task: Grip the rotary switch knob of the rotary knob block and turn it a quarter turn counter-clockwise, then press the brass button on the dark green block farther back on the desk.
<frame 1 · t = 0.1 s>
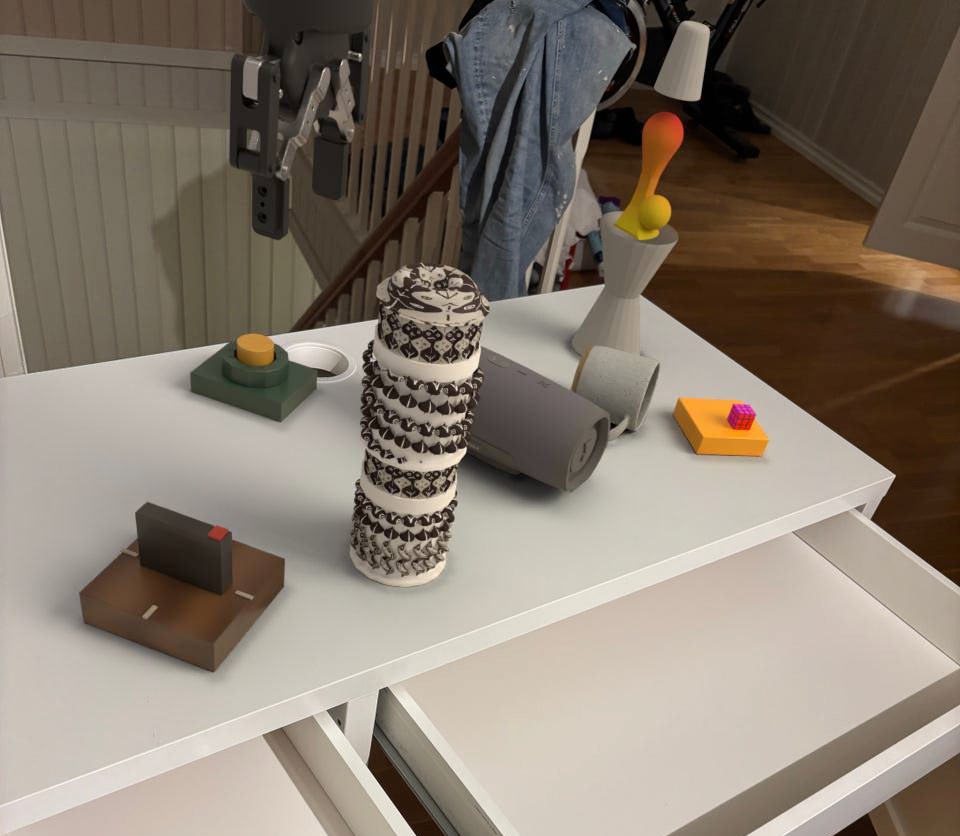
hand: (300, 215, 65), 28 cm above the table, tool pointing down, fingers open, 8 cm apart
rotary switch knob: (184, 547, 72), point 6 cm above the table, hinge at 0.0°
rotary knob block: (188, 603, 76), on the table
patterned cylindrical tower: (397, 556, 85), on the table
bluetooth speaker: (481, 451, 99), on the table
orange square block: (716, 436, 109), on the table
ceramic mug: (604, 423, 107), on the table
button: (255, 350, 97), point 4 cm above the table, slide at 0.1 cm
lava lamp: (605, 350, 120), on the table
button block: (255, 390, 100), on the table
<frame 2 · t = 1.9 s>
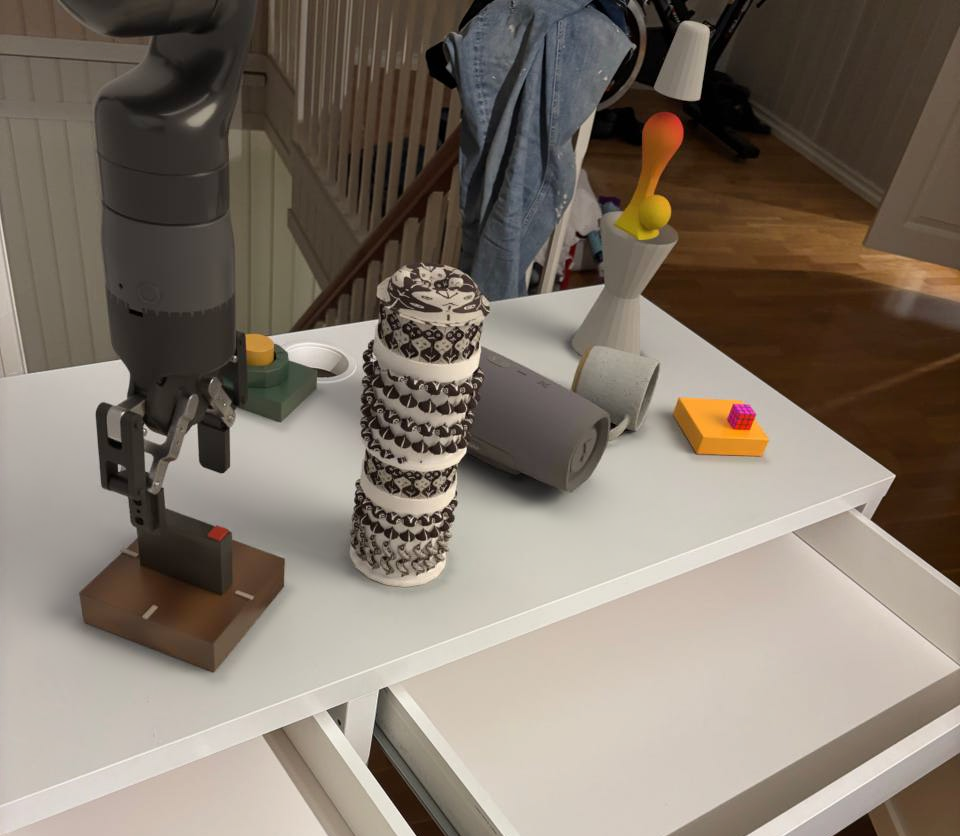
hand: (183, 497, 69), 10 cm above the table, tool pointing down, fingers open, 8 cm apart
nothing on the table moved.
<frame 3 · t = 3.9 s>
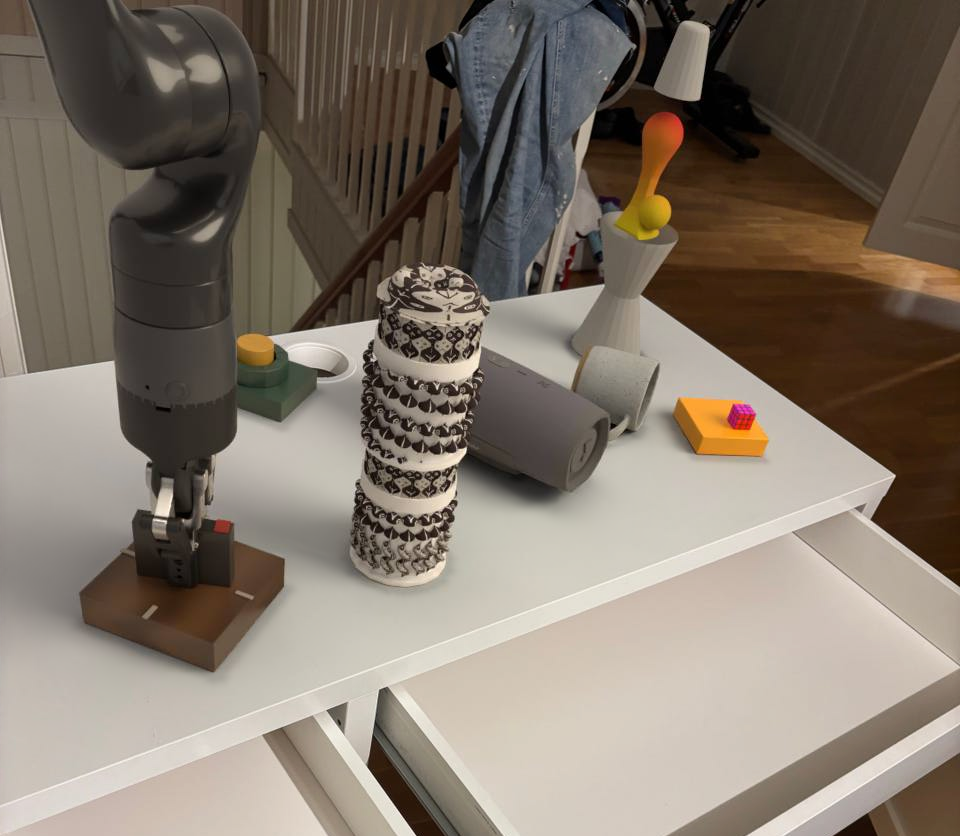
hand: (186, 574, 74), 3 cm above the table, tool pointing down, fingers closed on rotary switch knob, 2 cm apart
rotary switch knob: (184, 547, 72), point 6 cm above the table, hinge at 18.4°, touching gripper
everything else where it was.
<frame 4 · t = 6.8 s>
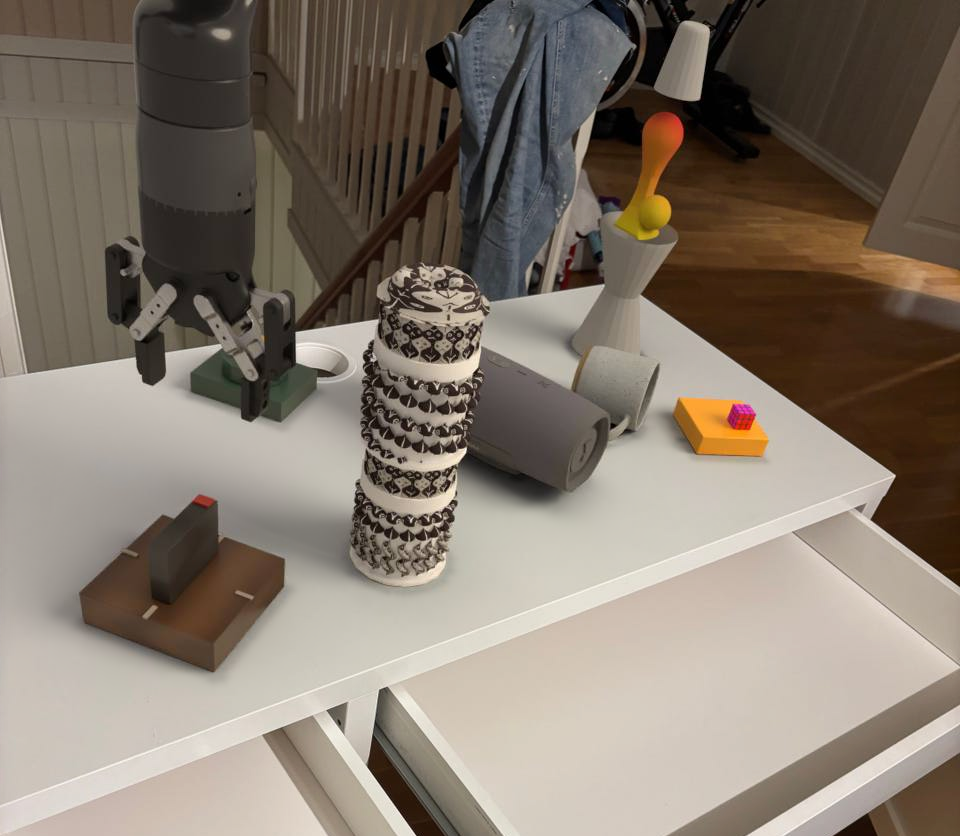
hand: (203, 398, 75), 12 cm above the table, tool pointing down, fingers open, 8 cm apart
rotary switch knob: (184, 547, 72), point 6 cm above the table, hinge at 90.4°
everything else where it was.
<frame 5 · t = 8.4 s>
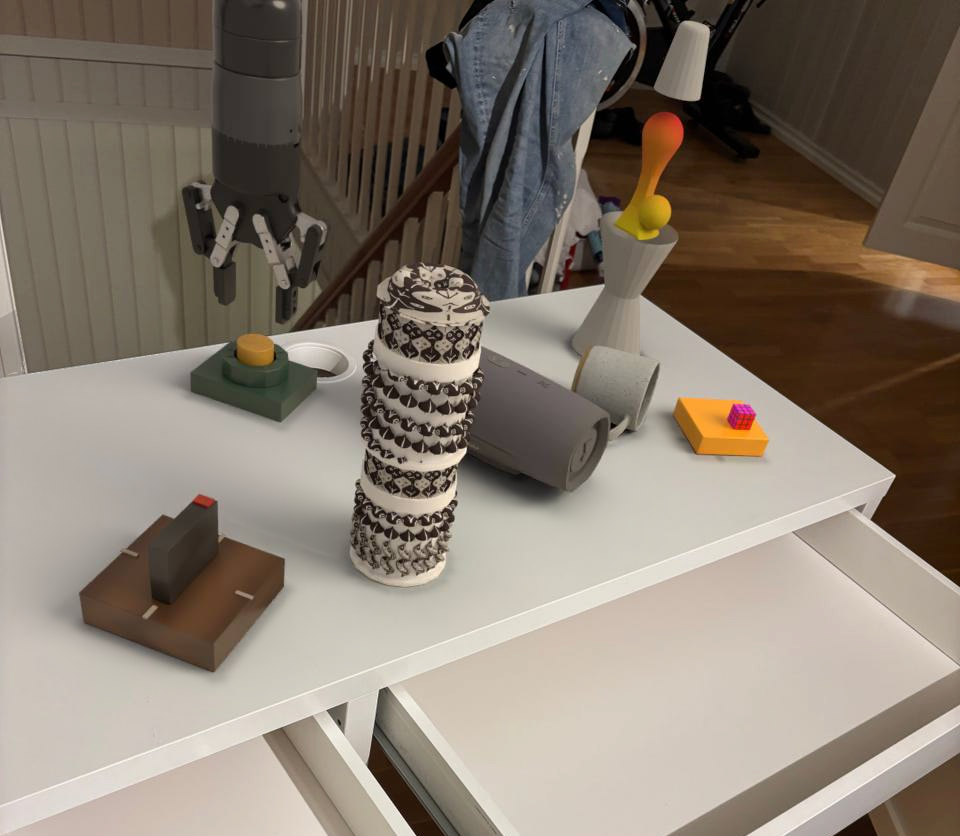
hand: (255, 310, 94), 9 cm above the table, tool pointing down, fingers open, 5 cm apart
nothing on the table moved.
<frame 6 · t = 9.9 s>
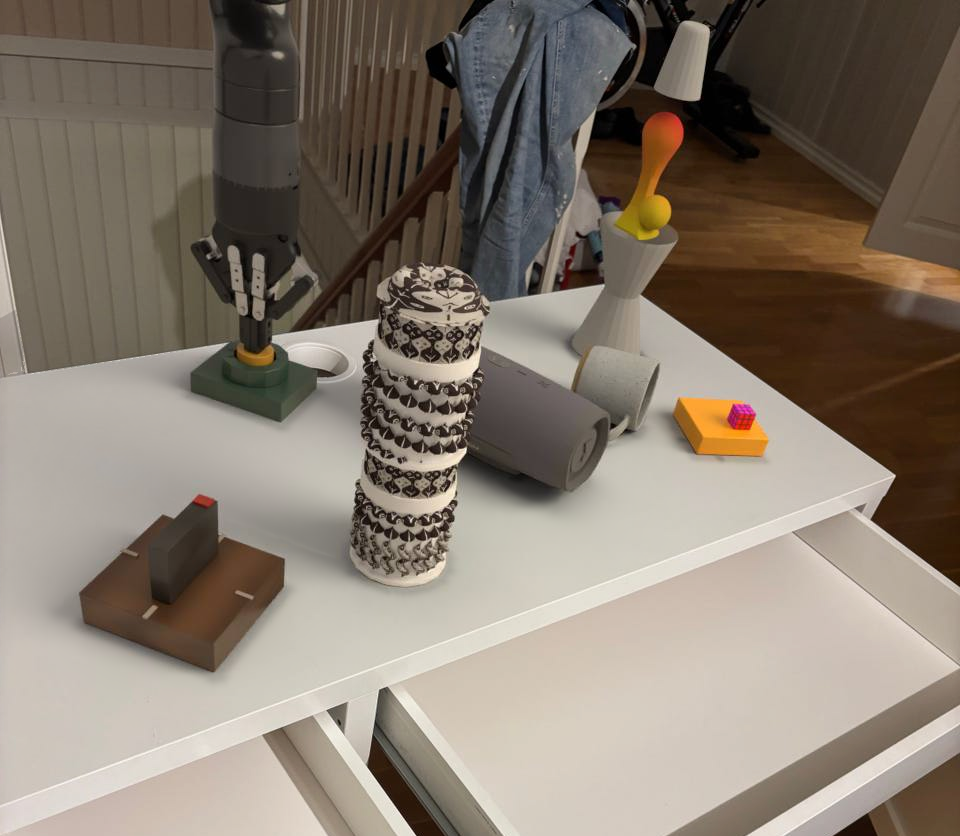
hand: (256, 348, 97), 5 cm above the table, tool pointing down, fingers closed
button: (255, 356, 97), point 4 cm above the table, slide at -0.6 cm, touching gripper
everything else where it was.
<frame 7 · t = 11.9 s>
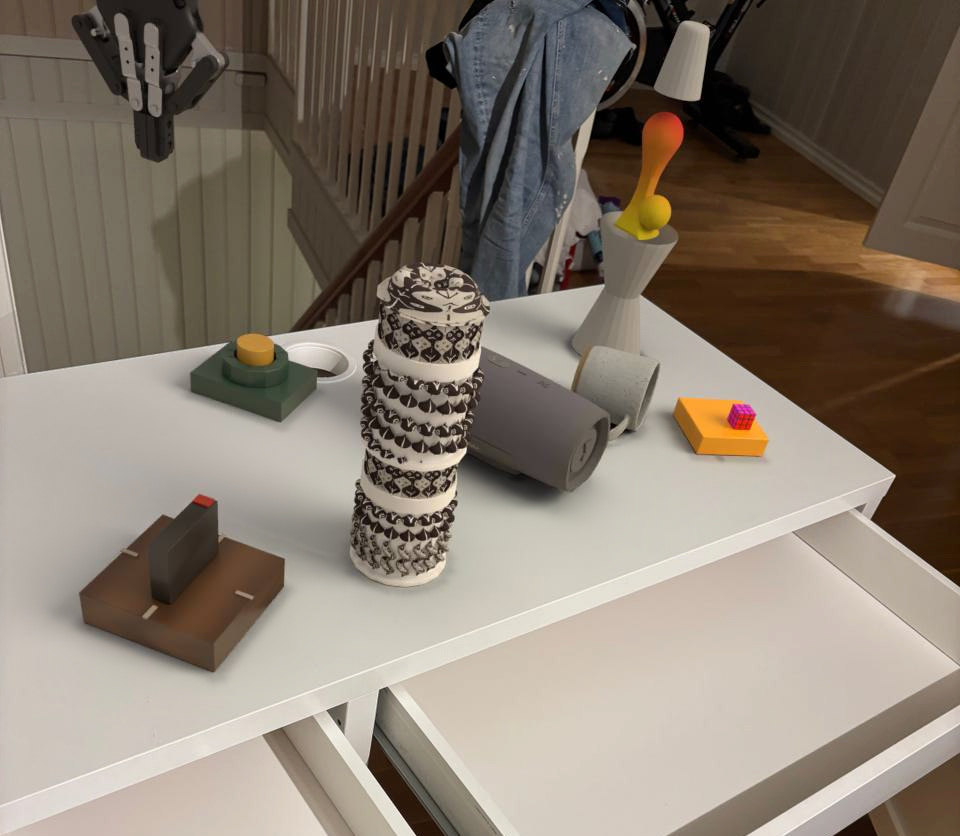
hand: (155, 158, 82), 22 cm above the table, tool pointing down, fingers closed
button: (255, 350, 97), point 4 cm above the table, slide at 0.1 cm
everything else where it was.
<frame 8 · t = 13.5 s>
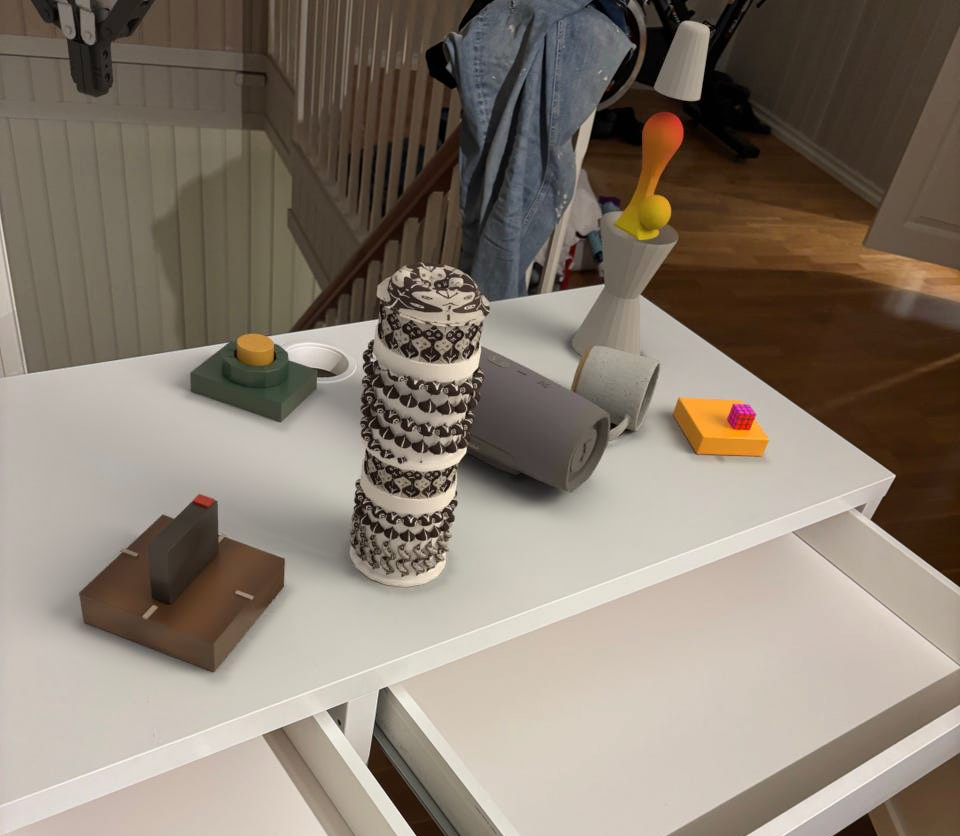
hand: (94, 93, 77), 27 cm above the table, tool pointing down, fingers closed
nothing on the table moved.
at the end: rotary switch knob at +90° (first picture: +0°); button pushed in 1.1 cm at the most during the clip, back to where it started at the end; button slide at 0.1 cm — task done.
